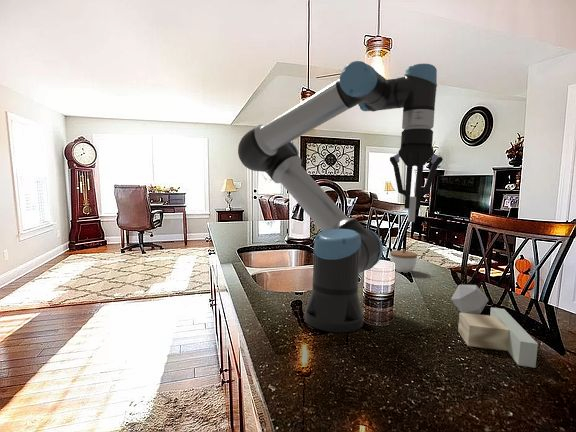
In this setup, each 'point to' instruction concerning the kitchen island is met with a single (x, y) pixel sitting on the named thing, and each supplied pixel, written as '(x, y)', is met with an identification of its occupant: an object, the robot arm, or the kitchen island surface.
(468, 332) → the beech block
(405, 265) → the lidded jar
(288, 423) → the kitchen island surface
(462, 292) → the grey faceted block
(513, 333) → the sage board
